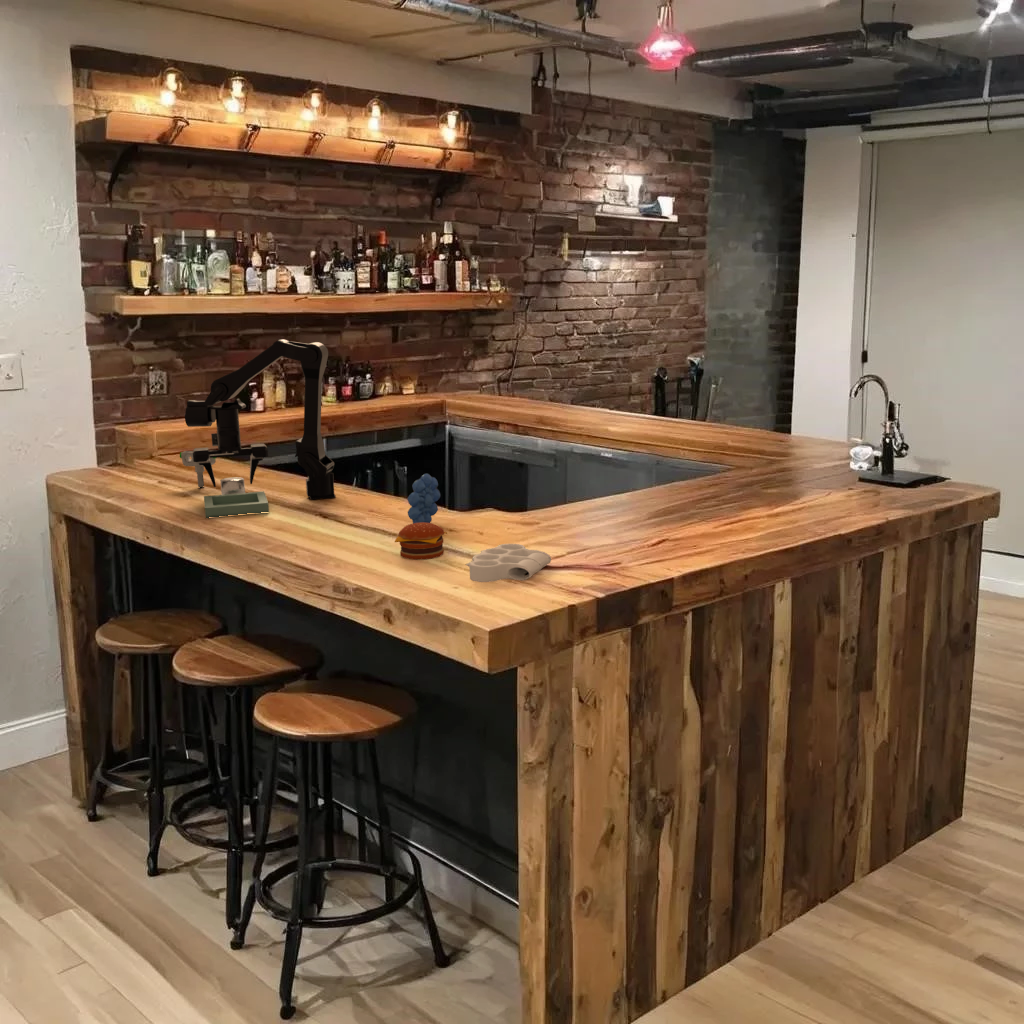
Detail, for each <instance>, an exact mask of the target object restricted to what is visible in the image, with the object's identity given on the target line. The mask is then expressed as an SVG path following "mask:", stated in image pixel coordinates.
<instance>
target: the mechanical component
mask: <svg viewBox="0 0 1024 1024" xmlns="http://www.w3.org/2000/svg"><path fill="white" fill-rule="evenodd" d="M179 458H180V459H181V461H182V465H183V466H185V467H194V472H195V473H196V479H197V488H198V487H203V486H204V487H205V481H204V472H205V471H206V469H205V467H204V466H203V465H199V462H194V461H193V450H185V451H181V452H179ZM217 458H218V457H214V458H210V461H211V465H215V463H216V460H217ZM204 487H203V488H204Z"/></svg>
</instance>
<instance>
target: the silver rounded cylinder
mask: <svg viewBox="0 0 1024 1024" xmlns="http://www.w3.org/2000/svg"><path fill="white" fill-rule="evenodd" d="M220 492H221V495H224V494H236V493H246V486H245V478H243V477H240V476H239V477H237V476H235V477H234V476H232V477H225V478H222V479H220Z"/></svg>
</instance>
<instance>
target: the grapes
mask: <svg viewBox="0 0 1024 1024" xmlns="http://www.w3.org/2000/svg"><path fill="white" fill-rule="evenodd" d="M438 486H439V483H438V480H437V479H436V477H434V476H431V475H430V473H424V474H423V475H421V476H420V478H418V479H416V480H415V481H414V482H413V483H412V490H413V492H411V493H410V494H409V495H408V497H407V502H408V504H409V506H411V507H410V508H409V509H408V511H407V517H408V518H409V519H410V520H412V521H411V522H412V524H413V523H420V522H426V523H432V521H433V520H432V519H433V518H432V516H435V515H436V514H437V512H438V511H439V508H438V505H437V504H436V502H437V501H438V500H439V499H440V498H441V492H440V490H439V489H438Z"/></svg>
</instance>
